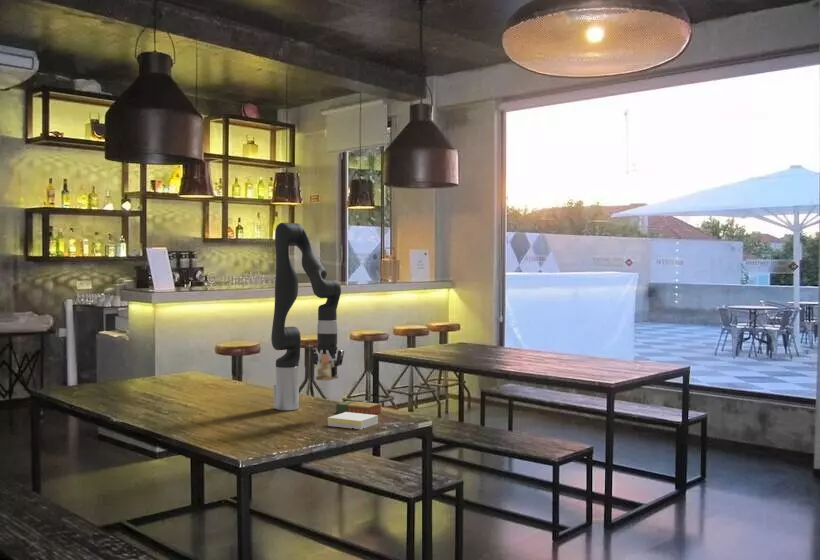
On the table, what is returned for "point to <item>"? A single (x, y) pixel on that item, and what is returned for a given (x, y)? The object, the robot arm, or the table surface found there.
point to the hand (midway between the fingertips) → (327, 376)
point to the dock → (353, 420)
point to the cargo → (325, 359)
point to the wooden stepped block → (325, 372)
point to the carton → (358, 407)
